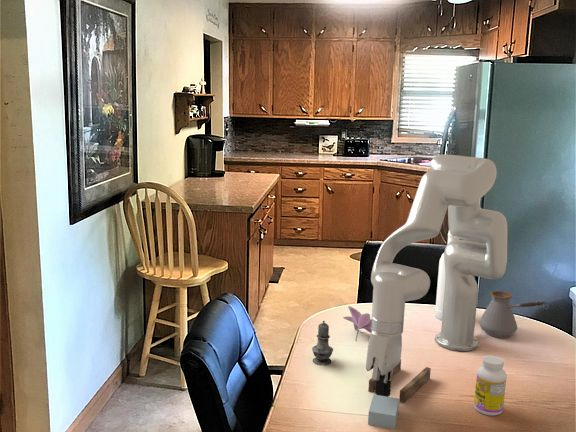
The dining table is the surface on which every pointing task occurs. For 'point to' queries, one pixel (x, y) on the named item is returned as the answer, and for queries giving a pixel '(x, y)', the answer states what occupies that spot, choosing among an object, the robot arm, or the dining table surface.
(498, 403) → the supplement bottle
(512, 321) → the coffee pot
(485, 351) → the dining table surface
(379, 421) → the slate block
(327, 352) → the salt shaker
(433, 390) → the dining table surface
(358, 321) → the lily
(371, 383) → the walnut chute
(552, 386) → the dining table surface
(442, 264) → the bottle
